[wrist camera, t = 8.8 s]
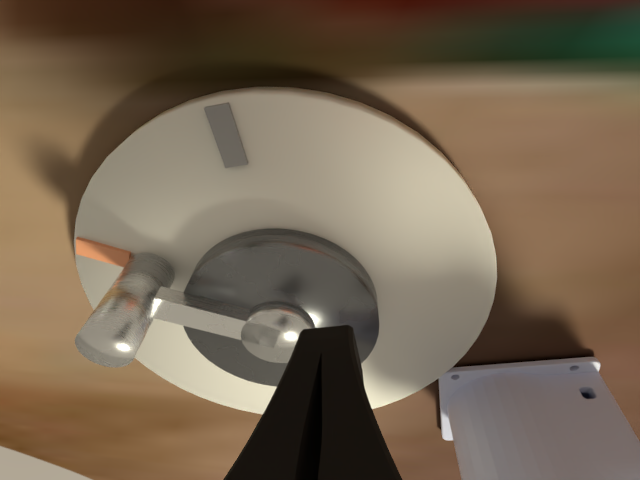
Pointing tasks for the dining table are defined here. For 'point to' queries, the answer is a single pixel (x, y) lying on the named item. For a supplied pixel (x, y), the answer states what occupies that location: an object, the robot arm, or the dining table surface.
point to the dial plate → (296, 224)
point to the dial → (238, 303)
